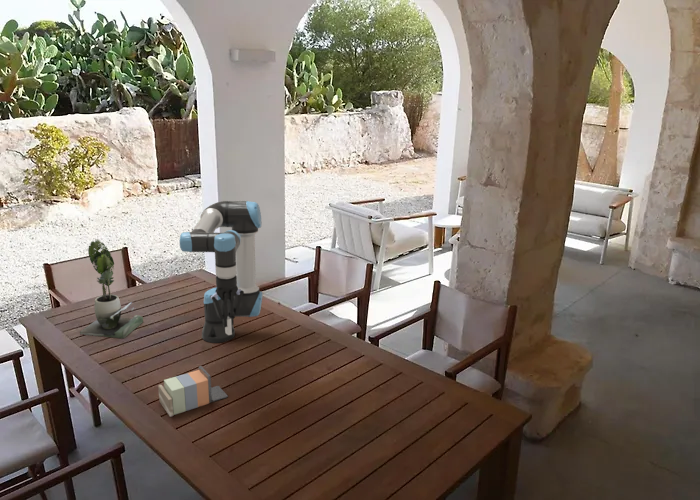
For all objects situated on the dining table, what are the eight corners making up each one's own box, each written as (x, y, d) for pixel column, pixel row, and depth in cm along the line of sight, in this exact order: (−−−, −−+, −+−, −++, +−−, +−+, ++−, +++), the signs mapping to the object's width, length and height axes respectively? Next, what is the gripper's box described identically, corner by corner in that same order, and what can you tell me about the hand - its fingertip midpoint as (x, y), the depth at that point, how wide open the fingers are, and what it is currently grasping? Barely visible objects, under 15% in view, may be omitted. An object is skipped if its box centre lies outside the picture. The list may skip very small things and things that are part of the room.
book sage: (177, 399, 218) (175, 376, 215) (185, 411, 211) (184, 387, 208) (165, 403, 216) (163, 379, 213) (173, 414, 209) (172, 390, 206)
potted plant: (143, 321, 283) (135, 234, 270) (123, 338, 265) (114, 246, 252) (102, 318, 286) (92, 231, 272) (79, 334, 268) (68, 242, 255)
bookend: (218, 386, 228) (217, 361, 224) (227, 396, 221) (226, 371, 217) (200, 392, 223) (198, 366, 220) (209, 402, 216) (207, 376, 213)
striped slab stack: (204, 387, 227) (204, 372, 225) (216, 401, 218) (216, 385, 216) (159, 401, 217) (158, 385, 215) (170, 416, 208) (168, 399, 205)
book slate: (189, 396, 221) (187, 373, 218) (197, 407, 214) (196, 383, 211) (177, 399, 218) (175, 376, 215) (186, 410, 211) (184, 387, 208)
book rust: (200, 392, 224) (198, 369, 221) (209, 403, 217) (207, 379, 214) (188, 396, 221) (187, 373, 218) (197, 407, 214) (196, 383, 211)
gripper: (238, 269, 218) (240, 326, 225) (205, 275, 211) (208, 333, 218) (246, 275, 212) (248, 333, 219) (213, 281, 205) (216, 341, 212)
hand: (228, 333), depth 219 cm, fingers closed
